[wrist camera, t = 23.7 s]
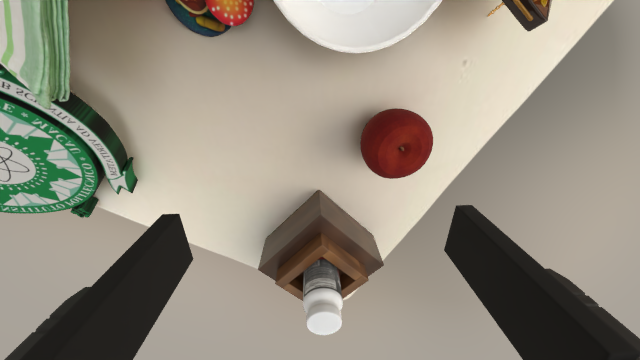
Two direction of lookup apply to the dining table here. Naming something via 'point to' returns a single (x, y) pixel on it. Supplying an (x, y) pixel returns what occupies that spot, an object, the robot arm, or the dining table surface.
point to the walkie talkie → (528, 11)
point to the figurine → (211, 14)
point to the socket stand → (320, 247)
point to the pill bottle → (322, 297)
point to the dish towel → (37, 46)
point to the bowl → (356, 21)
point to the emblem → (55, 153)
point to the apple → (396, 143)
